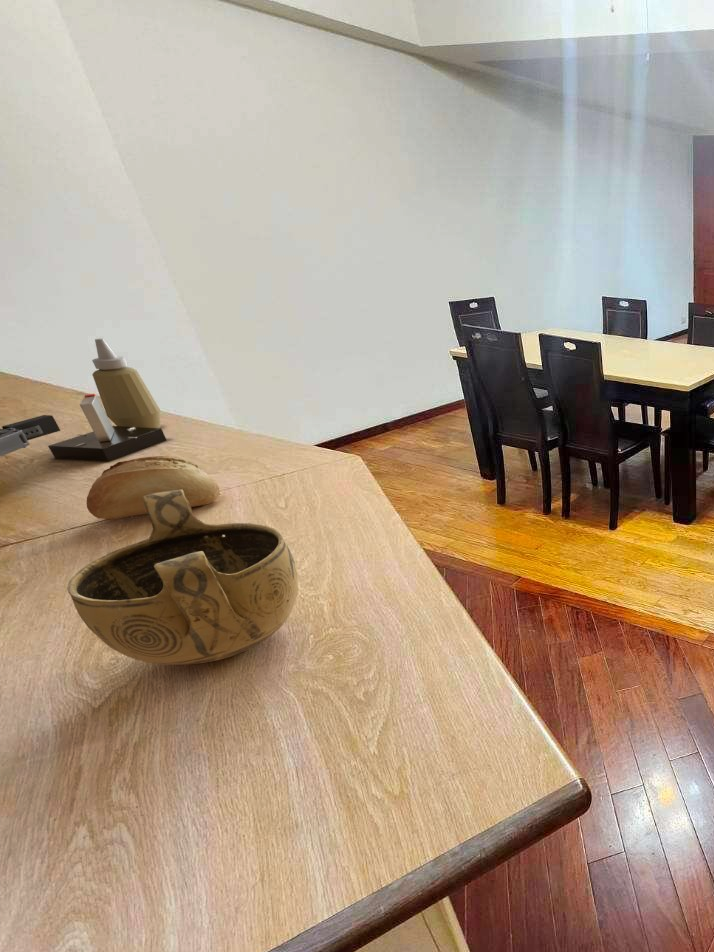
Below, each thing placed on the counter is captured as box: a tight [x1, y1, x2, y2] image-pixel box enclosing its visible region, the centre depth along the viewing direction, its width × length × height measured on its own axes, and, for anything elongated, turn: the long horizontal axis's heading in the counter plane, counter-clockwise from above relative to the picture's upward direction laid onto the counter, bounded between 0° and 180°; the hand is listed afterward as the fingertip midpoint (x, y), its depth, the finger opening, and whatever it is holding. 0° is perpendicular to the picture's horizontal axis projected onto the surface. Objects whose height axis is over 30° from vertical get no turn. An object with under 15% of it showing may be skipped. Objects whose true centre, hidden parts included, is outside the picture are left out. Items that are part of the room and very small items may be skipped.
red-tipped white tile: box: [79, 393, 114, 442], centre depth 109 cm, size 7×2×7 cm, turn 38°
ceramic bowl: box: [66, 490, 299, 666], centre depth 61 cm, size 22×17×15 cm
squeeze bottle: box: [91, 338, 162, 428], centre depth 118 cm, size 8×8×18 cm
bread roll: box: [86, 455, 221, 520], centre depth 90 cm, size 10×15×8 cm, turn 132°
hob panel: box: [47, 425, 167, 462], centre depth 112 cm, size 12×11×3 cm
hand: (52, 422), depth 102 cm, fingers closed
